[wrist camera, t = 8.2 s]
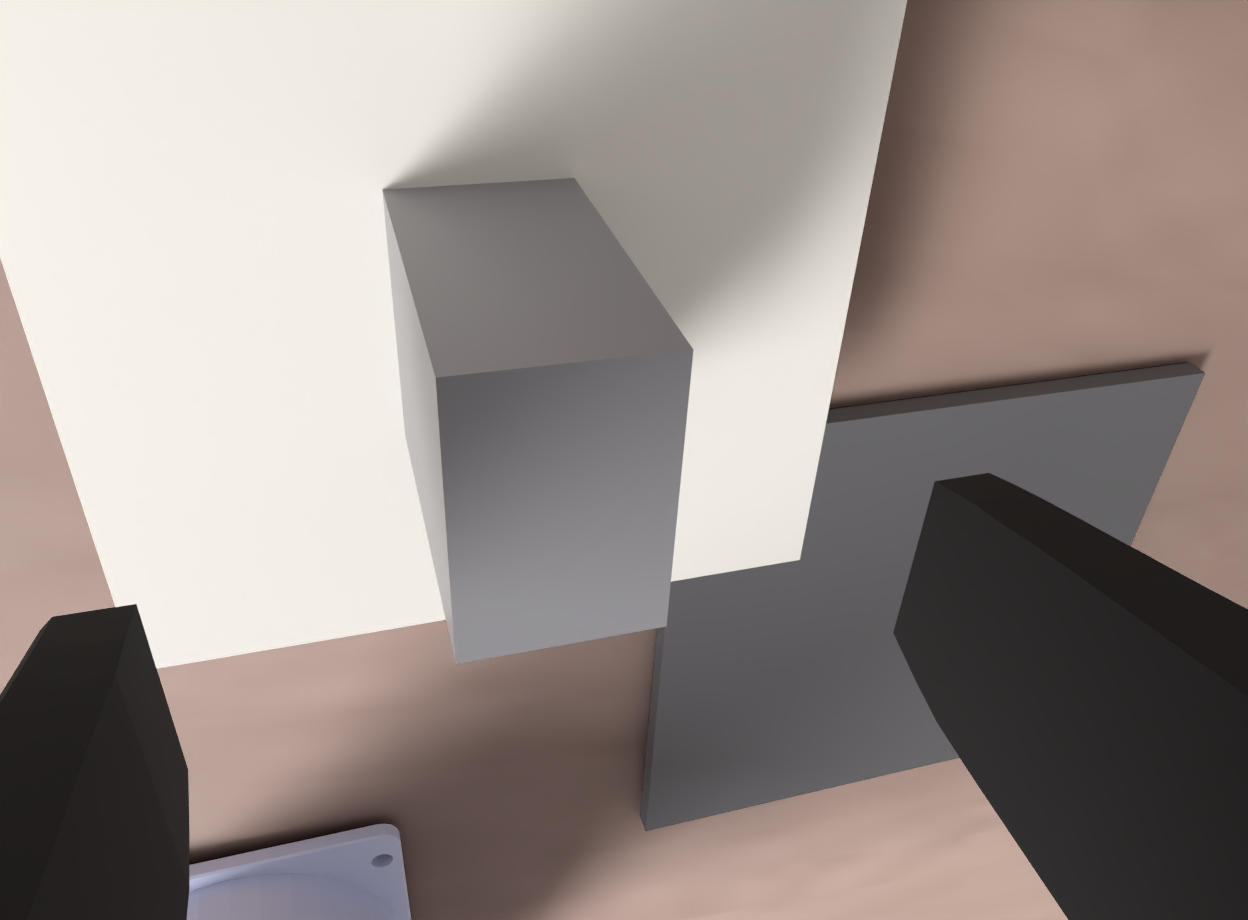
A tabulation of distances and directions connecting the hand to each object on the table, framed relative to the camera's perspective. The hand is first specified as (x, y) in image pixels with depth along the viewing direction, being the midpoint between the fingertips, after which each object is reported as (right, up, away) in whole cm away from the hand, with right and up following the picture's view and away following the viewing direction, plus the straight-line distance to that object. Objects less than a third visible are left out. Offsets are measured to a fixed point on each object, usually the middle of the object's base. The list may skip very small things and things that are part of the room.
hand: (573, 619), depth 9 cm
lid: (-2, +4, +5) cm, 6 cm away
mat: (+7, -2, +17) cm, 19 cm away
